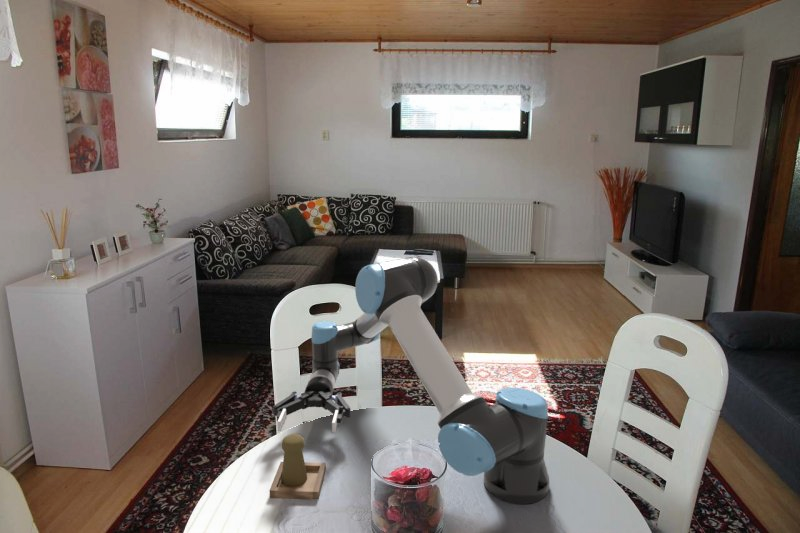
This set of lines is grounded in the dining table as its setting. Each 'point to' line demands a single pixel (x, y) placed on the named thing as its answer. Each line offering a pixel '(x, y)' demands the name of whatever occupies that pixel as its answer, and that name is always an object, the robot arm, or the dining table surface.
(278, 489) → the tray
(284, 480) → the cork
